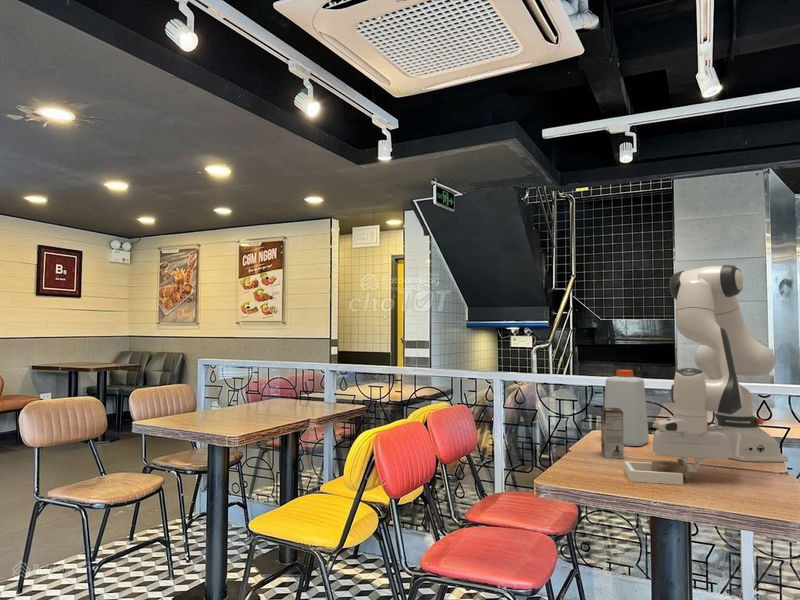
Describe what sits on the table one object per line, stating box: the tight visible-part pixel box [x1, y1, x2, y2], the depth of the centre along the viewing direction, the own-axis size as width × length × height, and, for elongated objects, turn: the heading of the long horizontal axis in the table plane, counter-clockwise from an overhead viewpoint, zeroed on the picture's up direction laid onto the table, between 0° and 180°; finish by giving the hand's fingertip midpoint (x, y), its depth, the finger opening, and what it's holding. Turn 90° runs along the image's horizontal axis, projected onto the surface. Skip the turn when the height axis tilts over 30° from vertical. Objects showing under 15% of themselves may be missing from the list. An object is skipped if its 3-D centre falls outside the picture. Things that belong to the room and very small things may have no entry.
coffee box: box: [600, 407, 625, 460], centre depth 197 cm, size 9×6×16 cm
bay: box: [623, 460, 684, 486], centre depth 168 cm, size 14×13×3 cm
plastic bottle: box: [603, 369, 650, 447], centre depth 221 cm, size 15×15×28 cm
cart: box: [651, 458, 687, 483], centre depth 167 cm, size 8×7×5 cm
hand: (691, 472), depth 165 cm, fingers closed
